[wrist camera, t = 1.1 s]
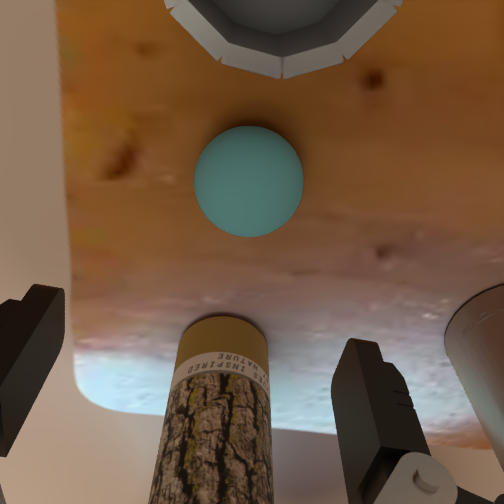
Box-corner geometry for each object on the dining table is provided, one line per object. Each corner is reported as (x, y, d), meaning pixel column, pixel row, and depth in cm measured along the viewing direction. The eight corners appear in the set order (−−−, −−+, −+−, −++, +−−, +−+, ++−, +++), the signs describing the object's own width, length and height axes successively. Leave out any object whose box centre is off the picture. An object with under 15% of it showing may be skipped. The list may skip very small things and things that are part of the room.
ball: (319, 161, 29) (334, 206, 24) (249, 223, 31) (249, 277, 26) (248, 89, 26) (247, 122, 21) (178, 162, 29) (162, 207, 24)
